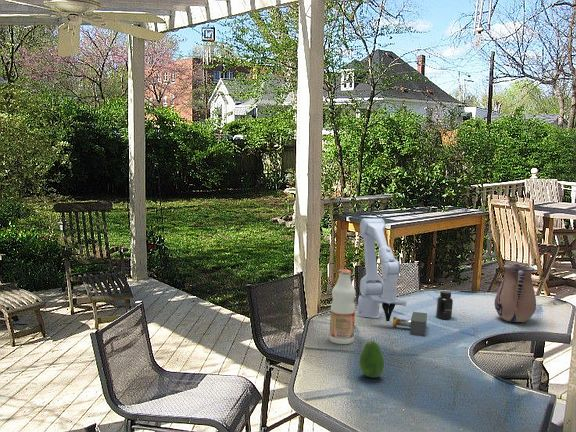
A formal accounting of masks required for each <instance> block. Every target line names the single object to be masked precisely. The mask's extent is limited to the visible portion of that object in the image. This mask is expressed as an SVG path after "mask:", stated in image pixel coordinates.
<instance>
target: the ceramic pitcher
mask: <svg viewBox="0 0 576 432" xmlns="http://www.w3.org/2000/svg"><path fill="white" fill-rule="evenodd" d="M503 268H504V269H505V273H504V275H503V276H504V277H503V278H502V281H501V284H500V286H499V288H498V290H497V292H496V295H495V298H494V308H495V311H496V313H497V315H498V316H499V317H500V318H501V319H502V320H504V321H506V322H508V321H511V322H510V323H513V322H522V323H525V322H527V321H529V319H531V318H532V317H533V315H534V314H535V312H536V311H537V309H536V308H537V300H536V293H535V288H534V284H533V279H532V274H533V272H534V271H535V269H536V268H534V267H532V266H529V265H528V266H527V265H524V266H522V265H520V264H517V263H516V264H515V263H514V264H504V265H503Z"/></svg>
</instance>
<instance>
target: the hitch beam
mask: <svg viewBox="0 0 576 432" xmlns="http://www.w3.org/2000/svg"><path fill="white" fill-rule="evenodd" d="M411 314H412V315H411V319H410V320H411V324H410V327H409V335H412V336H413V335H414V336H421V337H425V335H426V330H427V324H428V323H427V322H428V321H427V320H428V313H427V312H420V311H412V313H411Z"/></svg>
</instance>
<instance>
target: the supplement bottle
mask: <svg viewBox="0 0 576 432" xmlns="http://www.w3.org/2000/svg"><path fill="white" fill-rule="evenodd" d="M451 297H452V291H448V290H441V291H440V292H439V296H438V297H437V301H436V313H435V317H436V318H437V319H439V320H444V321H446V320H451V319H452V316H453V315H452V313H453V305H454V304H453V301H454V300H453V298H451Z"/></svg>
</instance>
